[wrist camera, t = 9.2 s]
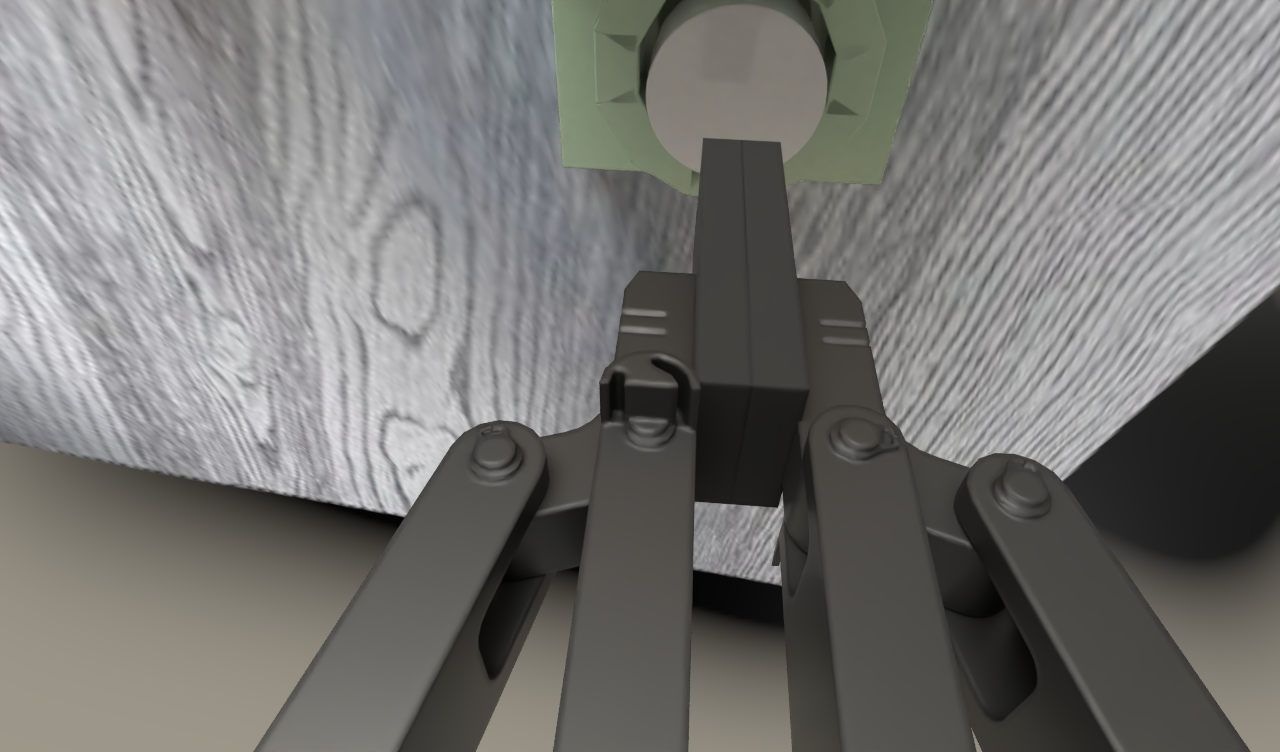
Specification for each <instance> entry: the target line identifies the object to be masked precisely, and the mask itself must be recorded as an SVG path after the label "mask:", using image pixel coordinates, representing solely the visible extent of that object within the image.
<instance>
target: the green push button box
mask: <svg viewBox="0 0 1280 752" xmlns="http://www.w3.org/2000/svg"><path fill="white" fill-rule="evenodd" d="M681 1H682V0H551V6H552V21H553V35H554V50H555V65H556V79H557V94H558V109H559V123H560V138H561V152H562V166H563V167H567V168H585V169H603V170H620V171H638V172H647V173H649V174H651V175H652V176H654V177H656V178H658V179H659V180H661V181H663V182H664V183H666V184H668V185H670V186H671V187H673V188H675V189H676V190H678V191H680V192H682V193H683V194H685V195H689V196H697V197H698V192H699V180H700V173H698V172H695V171H693V170H692V169H690V168H688V167H686V166H684V165H683V164H681V163H680V162H678V161H677V160H676V159H675V158H674V157H673V156H671V155H670V154H669V153H668V152H667V150H666V149H665V148H664V147H663V146H662V144H661V143H660V141H659V140H658V138H657V137H656V135H655V133H654V131H653V129H652V127H651V123H650V120H649V117H648V113H647V107H646V85H647V78H648V72H649V66H650V60H651V54H652V50H653V45H654V42H655V39H656V36H657V34H658V32H659V30H660V28H661V26H662V24H663V22H664V21H665V19H666V18H667V16H668V15H669V14H670V12H671V11H672V10H673V9H674V8H675V7H676V6H677V5H678V4H679V3H680V2H681ZM797 1H798V2H799V3H800V4H801V5H802V7H803V8H804V9H805V10H806V12H807V13H808V15H809V16H810V18H811V19H812V22H813V24H814V26H815V28H816V31H817V34H818V38H819V41H820V46H821V50H822V55H823V59H824V63H825V68H826V74H827V98H826V104H825V108H824V111H823V115H822V117H821V120H820V122H819V124H818V126H817V128H816V130H815V131H814V133H813V135H812V136H811V138H810V139H809V140H808V142H807V143H806V144H805V145H804V146H803V147H802V148H801V149H800V151H799V152H798V153H797V154H795V155H794V156H793V157H792V158H790V159H789V160H788V161H786V162H785V163H783V167H784V175H785V183H786V187H787V186H789V185H792V184H794V183H797V182H799V181H817V182H835V183H853V184H871V185H880V184H881V181H882V178H883V174H884V171H885V167H886V164H887V160H888V157H889V154H890V150H891V147H892V143H893V140H894V136H895V133H896V129H897V126H898V123H899V119H900V116H901V112H902V109H903V105H904V102H905V98H906V95H907V91H908V88H909V85H910V81H911V78H912V74H913V71H914V67H915V64H916V60H917V57H918V54H919V50H920V47H921V43H922V40H923V36H924V33H925V29H926V26H927V22H928V19H929V16H930V12H931V9H932V5H933V2H934V0H797Z"/></svg>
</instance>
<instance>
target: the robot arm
mask: <svg viewBox="0 0 1280 752" xmlns="http://www.w3.org/2000/svg"><path fill="white" fill-rule="evenodd" d="M869 343H870V340H869V336H868V331H867V328H866V321H865V317H864V312H863V307H862V302H861V300H860V299H859V298H858V297H857V296H856V294H855V293H854V292H853V291H852V289H851V288H850V287H849V286H848V284H847V283H846V282H845V281H834V280H817V279H801V278H797V276H796V268H795V259H794V251H793V242H792V234H791V226H790V217H789V209H788V200H787V192H786V183H785V175H784V167H783V158H782V150H781V142H772V141H753V140H734V139H715V138H703V144H702V156H701V168H700V180H699V192H698V203H697V215H696V227H695V239H694V251H693V273H692V274H685V273H669V272H652V271H639V272H638V273H637V274H636V276H635V277H634V278H633V279H632V280H631V282H630V283H629V284H628V285H627V287H626V288H625V290H624V297H623V304H622V313H621V318H620V325H619V332H618V339H617V346H616V353H615V360H614V361H613V362H612V363H611V364H610V365H609V366H608V367H606V368H605V370H604V373H603V375H602V377H601V380H600V382H599V384H600V414H599V415H597V416H596V417H595V418H594V419H593V420H592V421H590V422H589V423H587V424H585V425H583V426H581V427H579V428H577V429H574V430H570V431H567V432H563V433H558V434H553V435H548V436H543V437H539V436H538V435H537V434H536V433H535V431H534V430H533V429H531V428H529V427H527V426H525V425H522V424H520V423H518V422H511V421H501V420H498V421H493V422H488V423H483V424H479V425H477V426H476V427H474V428H472V429H470V430H468V431H466V432H464V433H463V434H462V435H461V436H460V437H459V438H458V439H457V440H456V441H455V442H454V444H453V445H452V446H451V447H450V449H449V450H448V452H447V453H446V455H445V456H444V458H443V460H442V461H441V463H440V464H439V466H438V467H437V469H436V470H435V472H434V473H433V475H432V477H431V478H430V480H429V481H428V483H427V484H426V486H425V487H424V489H423V490H422V492H421V494H420V495H419V497H418V498H417V500H416V501H415V503H414V504H413V506H412V507H411V509H410V511H409V512H408V514H407V515H406V517H405V518H404V520H403V521H402V523H401V525H400V526H399V528H398V529H397V531H396V532H395V534H394V535H393V537H392V538H391V540H390V541H389V543H388V545H387V546H386V548H385V549H384V551H383V552H382V554H381V556H380V557H379V559H378V560H377V562H376V563H375V565H374V567H373V568H372V569H371V571H370V572H369V574H368V576H367V577H366V579H365V580H364V582H363V583H362V585H361V586H360V588H359V589H358V591H357V593H356V594H355V596H354V597H353V599H352V600H351V602H350V603H349V605H348V606H347V608H346V610H345V611H344V613H343V614H342V616H341V617H340V619H339V620H338V622H337V623H336V625H335V627H334V628H333V630H332V631H331V633H330V634H329V636H328V637H327V639H326V640H325V642H324V644H323V645H322V647H321V648H320V650H319V651H318V653H317V654H316V656H315V658H314V659H313V661H312V662H311V664H310V665H309V667H308V668H307V670H306V671H305V673H304V675H303V676H302V678H301V679H300V681H299V682H298V684H297V685H296V687H295V688H294V690H293V691H292V693H291V695H290V696H289V698H288V699H287V701H286V703H285V704H284V705H283V707H282V708H281V710H280V712H279V713H278V715H277V716H276V718H275V720H274V721H273V722H272V724H271V725H270V727H269V729H268V730H267V732H266V733H265V735H264V737H263V738H262V739H261V741H260V743H259V744H258V746H257V747H256V749H255V750H254V752H476V750H477V747H478V745H479V743H480V741H481V739H482V736H483V734H484V732H485V730H486V727H487V725H488V723H489V721H490V718H491V716H492V714H493V712H494V710H495V707H496V705H497V703H498V701H499V698H500V696H501V694H502V692H503V690H504V687H505V685H506V683H507V680H508V678H509V676H510V674H511V672H512V669H513V667H514V665H515V663H516V661H517V658H518V656H519V654H520V652H521V649H522V647H523V645H524V642H525V640H526V638H527V635H528V634H529V631H530V629H531V627H532V625H533V623H534V620H535V618H536V616H537V614H538V611H539V609H540V607H541V604H542V602H543V600H544V598H545V596H546V594H547V591H548V589H549V587H550V584H551V582H552V580H553V578H554V576H555V573H556V571H560V570H565V569H569V568H573V567H577V566H580V570H579V577H578V583H577V590H576V598H575V604H574V612H573V618H572V625H571V632H570V638H569V646H568V652H567V659H566V666H565V673H564V679H563V687H562V693H561V700H560V707H559V714H558V721H557V727H556V734H555V741H554V748H553V752H688V740H689V701H690V661H691V660H690V659H691V622H692V583H693V581H692V580H693V543H694V504H695V502H708V503H722V504H735V505H749V506H763V507H776V508H778V506H779V502H780V498H781V494H782V491H783V504H784V519H783V523H782V526H781V530H780V533H779V537H778V540H777V544H776V547H775V551H774V555H773V561H772V566H779V564H780V562H781V578H782V594H783V610H784V626H785V642H786V658H787V675H788V690H789V707H790V723H791V738H792V752H976V748H975V743H974V738H973V734H972V730H973V732H974V734H975V736H976V739H977V741H978V743H979V745H980V747H981V750H982V752H1250V750H1249V749H1248V747H1247V746H1246V744H1245V743H1244V742H1243V740H1242V739H1241V737H1240V736H1239V734H1238V733H1237V731H1236V730H1235V729H1234V727H1233V725H1232V724H1231V723H1230V721H1229V720H1228V718H1227V717H1226V715H1225V714H1224V712H1223V711H1222V710H1221V708H1220V707H1219V705H1218V704H1217V702H1216V701H1215V700H1214V698H1213V697H1212V695H1211V694H1210V692H1209V691H1208V689H1207V688H1206V686H1205V685H1204V684H1203V682H1202V681H1201V679H1200V678H1199V676H1198V675H1197V674H1196V672H1195V671H1194V669H1193V668H1192V666H1191V665H1190V663H1189V662H1188V660H1187V659H1186V657H1185V656H1184V655H1183V653H1182V652H1181V650H1180V649H1179V647H1178V646H1177V645H1176V643H1175V642H1174V640H1173V639H1172V637H1171V636H1170V634H1169V633H1168V631H1167V630H1166V629H1165V627H1164V626H1163V624H1162V623H1161V621H1160V620H1159V618H1158V617H1157V616H1156V614H1155V613H1154V611H1153V610H1152V608H1151V607H1150V605H1149V604H1148V603H1147V601H1146V600H1145V598H1144V597H1143V595H1142V594H1141V592H1140V591H1139V589H1138V588H1137V587H1136V585H1135V584H1134V582H1133V581H1132V579H1131V578H1130V576H1129V575H1128V574H1127V572H1126V571H1125V569H1124V568H1123V566H1122V565H1121V564H1120V562H1119V560H1118V559H1117V558H1116V556H1115V555H1114V554H1113V552H1112V550H1111V549H1110V547H1109V546H1108V545H1107V543H1106V542H1105V540H1104V539H1103V538H1102V536H1101V535H1100V533H1099V532H1098V530H1097V529H1096V527H1095V526H1094V524H1093V523H1092V521H1091V520H1090V519H1089V517H1088V516H1087V514H1086V513H1085V512H1084V510H1083V508H1082V507H1081V505H1080V504H1079V503H1078V501H1077V500H1076V498H1075V497H1074V495H1073V494H1072V492H1071V491H1070V490H1069V488H1068V487H1067V486H1066V485H1065V484H1064V483H1063V482H1062V480H1061V479H1060V478H1059V477H1058V476H1057V475H1056V474H1055V473H1054V472H1053V471H1051V470H1049V469H1048V468H1046V467H1045V466H1043V465H1041V464H1040V463H1038V462H1037V461H1035V460H1032V459H1029V458H1026V457H1022V456H1019V455H1016V454H1002V453H994V454H991V455H988V456H985V457H982V458H979V460H978V461H977V462H976V463H975V464H974V465H973V466H972V467H971V468H969V467H966V466H963V465H960V464H956V463H953V462H950V461H947V460H944V459H941V458H938V457H935V456H933V455H930V454H928V453H926V452H923V451H921V450H919V449H917V448H916V447H914V446H913V445H911V444H909V443H908V442H906V441H905V439H904V437H903V434H902V432H901V430H900V429H899V428H898V427H897V426H896V425H895V424H894V423H893V422H892V421H891V420H890V419H889V418H888V417H887V416H886V414H885V411H884V407H883V402H882V397H881V393H880V388H879V383H878V378H877V374H876V369H875V364H874V359H873V355H872V350H871V346H869ZM971 728H972V730H971Z"/></svg>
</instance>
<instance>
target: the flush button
mask: <svg viewBox="0 0 1280 752" xmlns="http://www.w3.org/2000/svg"><path fill="white" fill-rule="evenodd" d="M826 98H827V74H826V68H825V63H824V59H823V55H822V50H821V46H820V41H819V38H818V34H817V31H816V28H815V26H814V24H813V22H812V19H811V18H810V16H809V15H808V13H807V12H806V10H805V9H804V8H803V7H802V5H801V4H800V3H799V2H798V1H797V0H682V1H681V2H680V3H679V4H678V5H677V6H676V7H675V8H674V9H673V10H672V11H671V12H670V14H669V15H668V16H667V18H666V19H665V21H664V22H663V24H662V26H661V28H660V30H659V32H658V34H657V36H656V39H655V42H654V45H653V50H652V54H651V60H650V66H649V72H648V78H647V85H646V107H647V113H648V117H649V120H650V123H651V127H652V129H653V131H654V133H655V135H656V137H657V138H658V140H659V141H660V143H661V144H662V146H663V147H664V148H665V149H666V150H667V152H668V153H669V154H670V155H671V156H673V157H674V158H675V159H676V160H677V161H678V162H680V163H681V164H683V165H684V166H686V167H688V168H690V169H692V170H693V171H695V172H698V173H700V168H701V156H702V144H703V138H715V139H734V140H753V141H772V142H781V150H782V158H783V163H785V162H786V161H788V160H789V159H790V158H792V157H793V156H794V155H795V154H797V153H798V152H799V151H800V149H801V148H802V147H803V146H804V145H805V144H806V143H807V142H808V140H809V139H810V138H811V136H812V135H813V133H814V131H815V130H816V128H817V126H818V124H819V122H820V120H821V117H822V115H823V111H824V108H825V104H826Z"/></svg>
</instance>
